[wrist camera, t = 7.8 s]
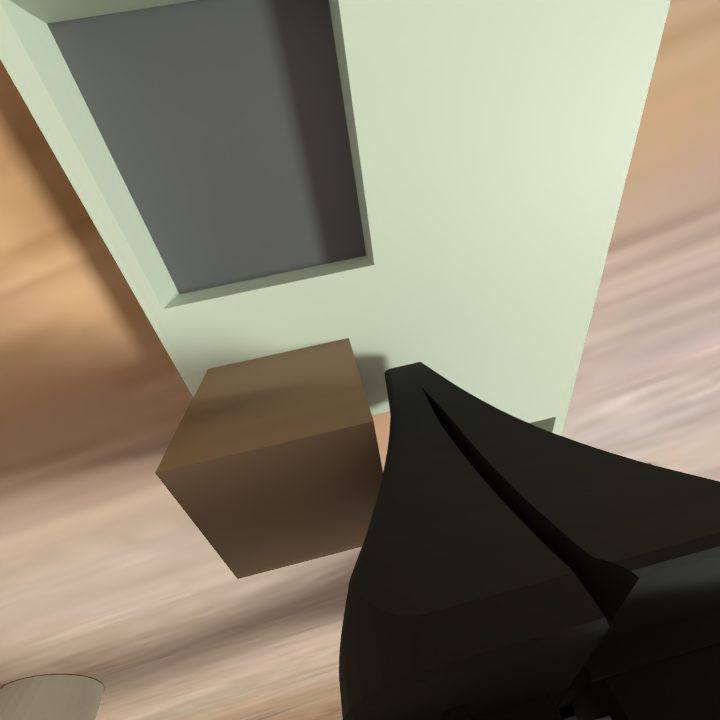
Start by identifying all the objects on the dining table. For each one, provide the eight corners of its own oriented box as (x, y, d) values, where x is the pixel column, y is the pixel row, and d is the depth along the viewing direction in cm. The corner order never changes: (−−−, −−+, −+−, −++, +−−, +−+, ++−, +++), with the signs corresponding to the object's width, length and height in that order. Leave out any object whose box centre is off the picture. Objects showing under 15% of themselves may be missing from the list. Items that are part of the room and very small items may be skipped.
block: (369, 437, 12) (395, 537, 9) (256, 464, 12) (238, 578, 8) (348, 337, 10) (373, 420, 6) (208, 368, 10) (155, 472, 6)
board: (530, 463, 17) (548, 486, 16) (284, 525, 16) (282, 555, 15) (643, -132, 7) (722, -204, 6) (-7, -39, 6) (-90, -99, 5)
